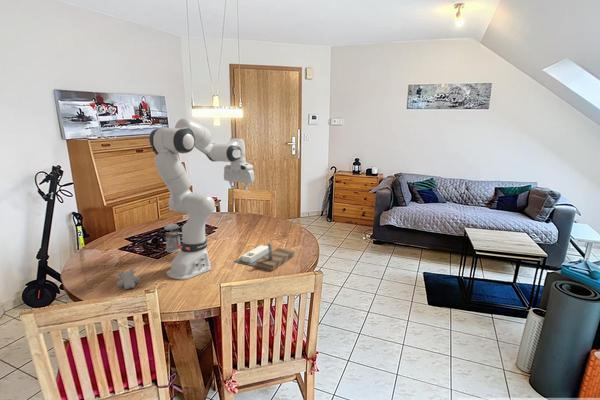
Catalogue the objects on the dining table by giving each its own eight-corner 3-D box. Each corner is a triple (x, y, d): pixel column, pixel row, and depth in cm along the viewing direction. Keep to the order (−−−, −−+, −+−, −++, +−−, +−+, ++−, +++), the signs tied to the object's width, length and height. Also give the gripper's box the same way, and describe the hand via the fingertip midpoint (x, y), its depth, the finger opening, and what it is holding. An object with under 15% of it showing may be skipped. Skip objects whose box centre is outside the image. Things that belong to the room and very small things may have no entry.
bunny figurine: (117, 285, 149) (114, 268, 161) (118, 294, 151) (116, 278, 163) (141, 279, 154) (136, 264, 166) (142, 289, 156) (137, 273, 168)
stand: (273, 270, 172) (272, 248, 169) (256, 267, 176) (255, 245, 173) (294, 255, 191) (294, 235, 188) (279, 252, 195) (278, 232, 192)
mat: (254, 266, 177) (254, 265, 177) (234, 261, 183) (234, 261, 183) (276, 252, 196) (276, 251, 196) (258, 248, 202) (258, 247, 202)
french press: (174, 245, 208) (171, 205, 202) (188, 248, 202) (184, 207, 196) (161, 250, 199) (156, 208, 194) (174, 254, 194) (170, 211, 188)
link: (251, 263, 180) (250, 257, 179) (241, 260, 183) (241, 255, 182) (269, 251, 196) (269, 246, 195) (261, 249, 198) (260, 245, 198)
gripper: (220, 165, 201) (222, 188, 204) (249, 167, 191) (250, 191, 195) (227, 164, 206) (228, 186, 209) (255, 166, 197) (256, 189, 200)
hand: (239, 189), depth 202 cm, fingers open, 8 cm apart
